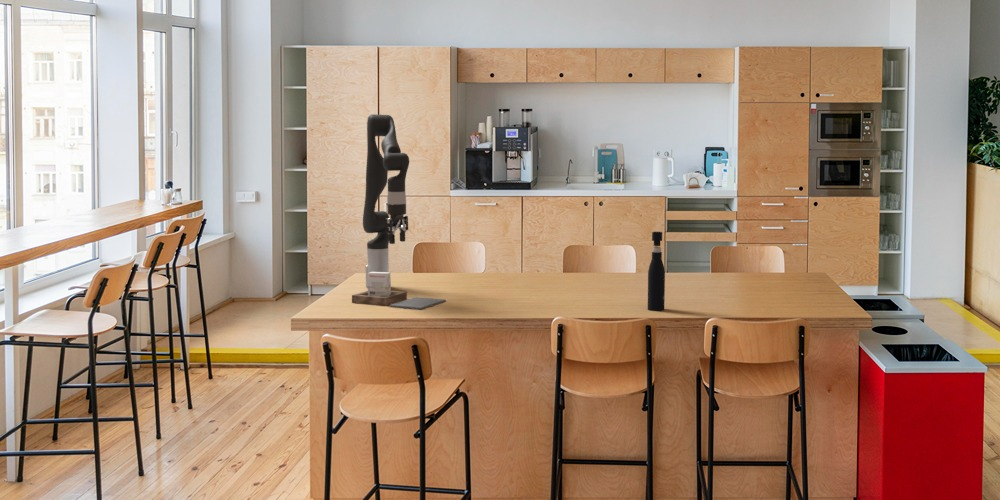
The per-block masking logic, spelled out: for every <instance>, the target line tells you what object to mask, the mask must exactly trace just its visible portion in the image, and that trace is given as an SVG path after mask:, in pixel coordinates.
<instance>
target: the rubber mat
mask: <svg viewBox="0 0 1000 500" xmlns="http://www.w3.org/2000/svg"><path fill="white" fill-rule="evenodd" d="M445 302H447V300H446V299H444V298H443V299H441V298H430V297H418V296H415V297H411V298H409V299H408V298H407V299H406V300H403V301H400V302H396V303H393V304H390V305H389V308H397V309H406V310H418V311H420V310H425V309H427V308H431V307H434V306H437V305H439V304H443V303H445Z"/></svg>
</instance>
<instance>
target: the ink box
mask: <svg viewBox="0 0 1000 500" xmlns="http://www.w3.org/2000/svg"><path fill="white" fill-rule="evenodd" d="M391 280H392V278H391V272H390V271H389V272H370V273H368V287H367V291H368V296H378V297H386V296H389V295H391V291H392V284H391Z"/></svg>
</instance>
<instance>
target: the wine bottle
mask: <svg viewBox="0 0 1000 500" xmlns="http://www.w3.org/2000/svg"><path fill="white" fill-rule="evenodd" d="M651 241H652V242H653V247H652V252H651V261H650V263H649V266H648V272H647V274H648V275H647V310H648V311H653V312H660V311H661V312H662V311H664V310H665V300H666V299H665V298H666V297H665V295H666V294H665V291H666V290H665V288H666V287H665V286H666V284H665V283H666V271H665V266H664V262H663V258H662V257H663V252H662V247H661V242H662V241H663V232H662V231H652V232H651Z"/></svg>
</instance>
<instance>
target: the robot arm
mask: <svg viewBox="0 0 1000 500" xmlns="http://www.w3.org/2000/svg"><path fill="white" fill-rule="evenodd" d="M366 136H367V137H366V139H367V141H366V143H367V145H366V146H367V147H366V148H367V149H366V150H367V152H366V166H365V167H366V169H365V170H366V171H365V197H364V206H363V207H364V208H363V214H362V228H363V230H364V232H365V233H367V234H375V233H376V234H377V235H376V236H375V237H373V238H372V239H370V240H368V241H367V243H366V254H367V258H366V259H367V265H365V288H368V273H370V272H390V271H389V270H390V268H389V267H390V263H389V261H390V260H389V259H390V258H389V254H390V253H389V244H390V245H394V244H395V243H396V235H395V233H396V231H399V241H400V242H406V232H407V231H409V216H408V215H406V214H407V195H406V179H407V173H408V169H409V165H410V158H409V156H408V154H407V153H405V152H402V150H401V147H400V146H399V143H398V139H397V132H396V126H395V121H394V118H393V117H392V116H391V115H390V114H377V113H375V114H372V113H371V114H369V115H368V117H367V122H366ZM376 137H383V139H382V141H381V143H380V146H381V151H382V153H383V155H382V153H381V152H380V150H379V147H378V146H377V140H376ZM391 171H392V172H395V171H399V173H398V174H397V175H394V176H389V177H388V174H389V172H391ZM386 187H387V197H386V198H387V199H386V202H387V205H386V206H387V208H386V209H387V211H383V210H382V211H381V210H379V211H376V204H377V201H378V199H379V198H380V196H381V194H382V193H383V191H384V190H385V188H386Z"/></svg>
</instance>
